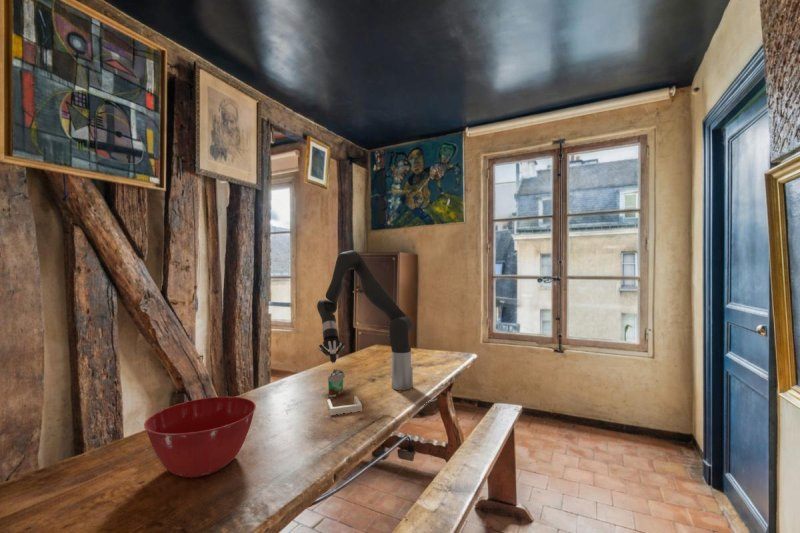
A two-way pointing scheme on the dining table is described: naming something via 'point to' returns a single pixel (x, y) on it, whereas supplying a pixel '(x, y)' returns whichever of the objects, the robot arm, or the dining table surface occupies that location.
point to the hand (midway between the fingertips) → (333, 362)
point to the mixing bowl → (200, 434)
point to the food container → (336, 383)
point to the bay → (345, 407)
